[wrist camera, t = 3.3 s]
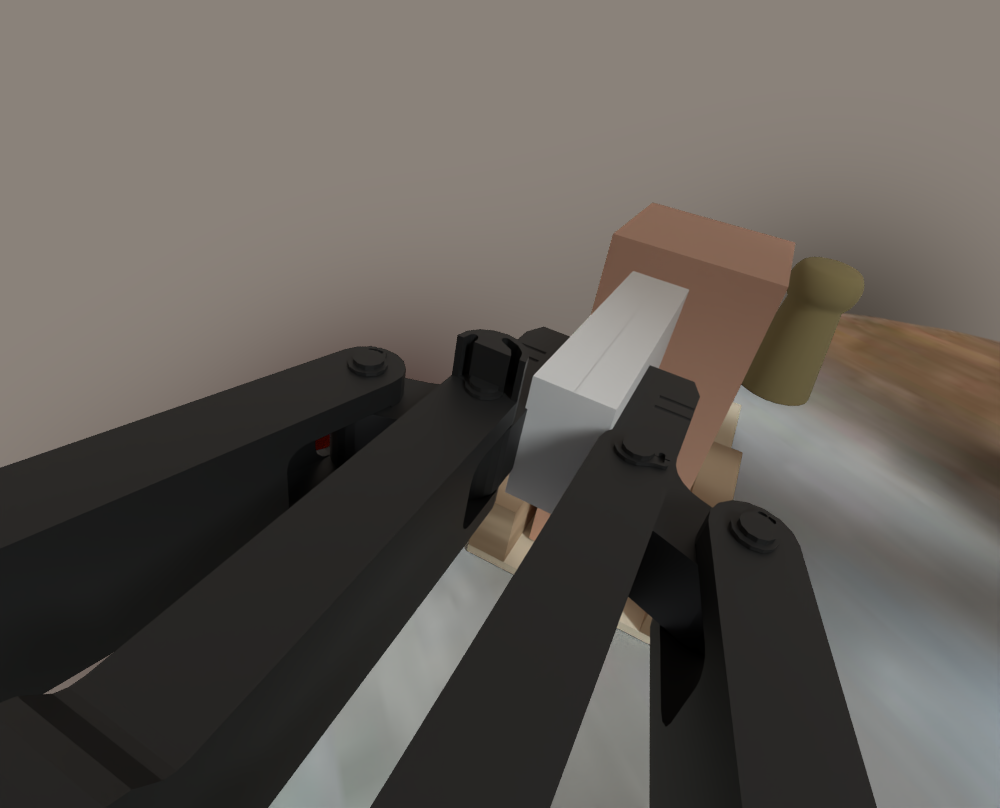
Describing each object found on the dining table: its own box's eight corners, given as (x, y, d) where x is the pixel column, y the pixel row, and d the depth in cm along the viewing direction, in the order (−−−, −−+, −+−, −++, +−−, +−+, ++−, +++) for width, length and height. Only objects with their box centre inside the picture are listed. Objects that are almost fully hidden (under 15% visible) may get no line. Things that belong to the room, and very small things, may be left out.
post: (569, 473, 34) (652, 202, 24) (666, 516, 32) (795, 242, 23) (528, 537, 29) (613, 233, 20) (640, 592, 27) (788, 286, 18)
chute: (606, 361, 47) (620, 318, 45) (738, 410, 44) (760, 367, 42) (467, 550, 29) (477, 494, 26) (678, 659, 25) (710, 606, 23)
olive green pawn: (723, 375, 48) (779, 252, 42) (758, 360, 52) (815, 244, 45) (787, 413, 45) (859, 285, 38) (820, 394, 48) (891, 274, 42)
